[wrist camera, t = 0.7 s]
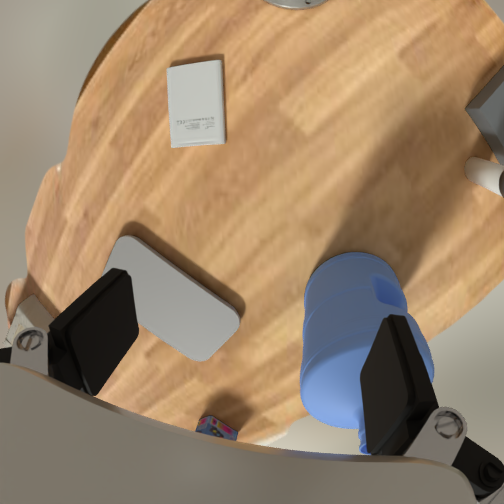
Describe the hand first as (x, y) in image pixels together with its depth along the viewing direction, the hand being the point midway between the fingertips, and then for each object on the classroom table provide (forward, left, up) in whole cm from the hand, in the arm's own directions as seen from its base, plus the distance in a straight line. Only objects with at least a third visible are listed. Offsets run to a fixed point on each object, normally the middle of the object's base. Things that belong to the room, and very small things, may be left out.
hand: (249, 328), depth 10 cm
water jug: (+21, +4, -34) cm, 40 cm away
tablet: (+15, -28, -34) cm, 47 cm away
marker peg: (+5, +28, -34) cm, 44 cm away
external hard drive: (-14, -10, -35) cm, 39 cm away
